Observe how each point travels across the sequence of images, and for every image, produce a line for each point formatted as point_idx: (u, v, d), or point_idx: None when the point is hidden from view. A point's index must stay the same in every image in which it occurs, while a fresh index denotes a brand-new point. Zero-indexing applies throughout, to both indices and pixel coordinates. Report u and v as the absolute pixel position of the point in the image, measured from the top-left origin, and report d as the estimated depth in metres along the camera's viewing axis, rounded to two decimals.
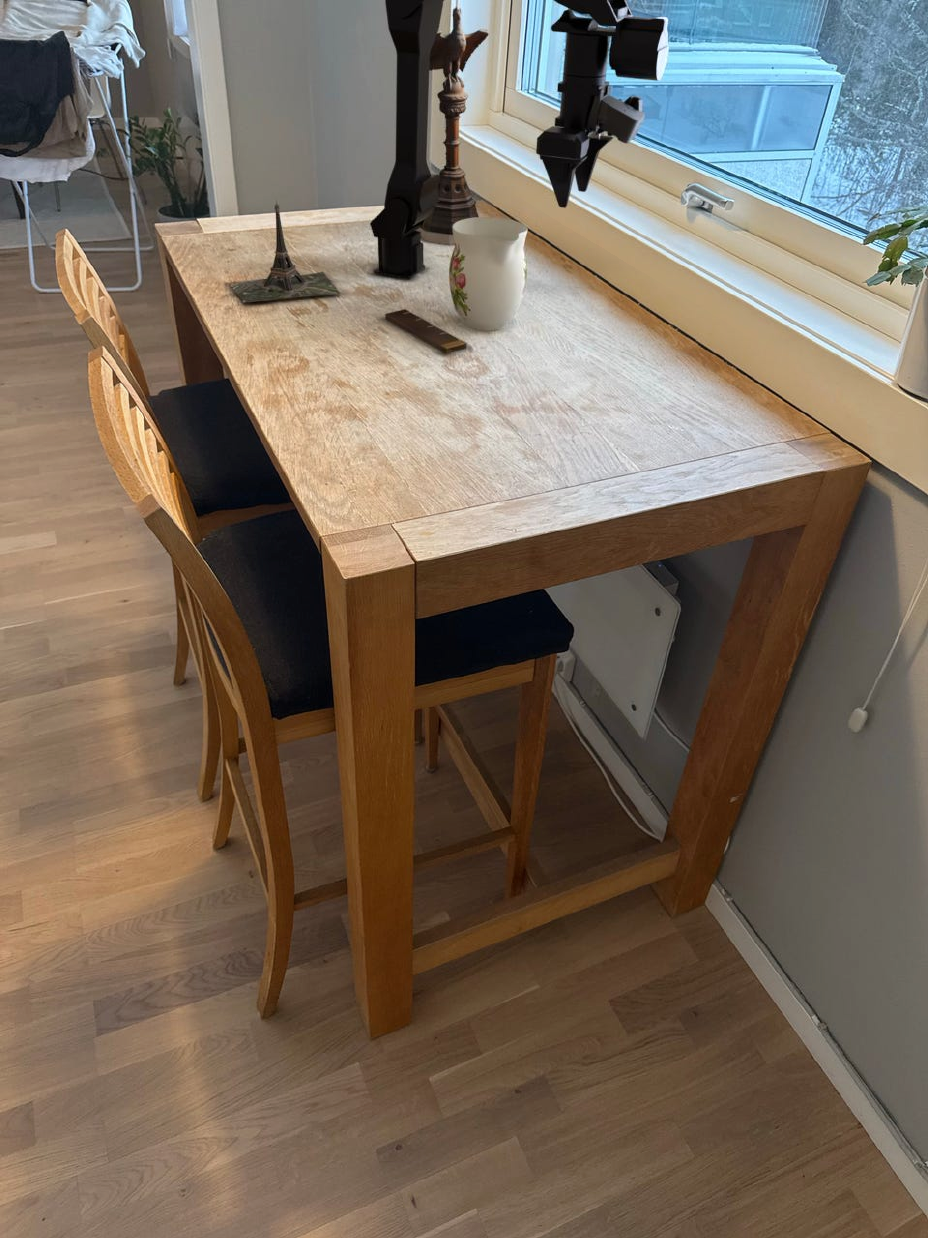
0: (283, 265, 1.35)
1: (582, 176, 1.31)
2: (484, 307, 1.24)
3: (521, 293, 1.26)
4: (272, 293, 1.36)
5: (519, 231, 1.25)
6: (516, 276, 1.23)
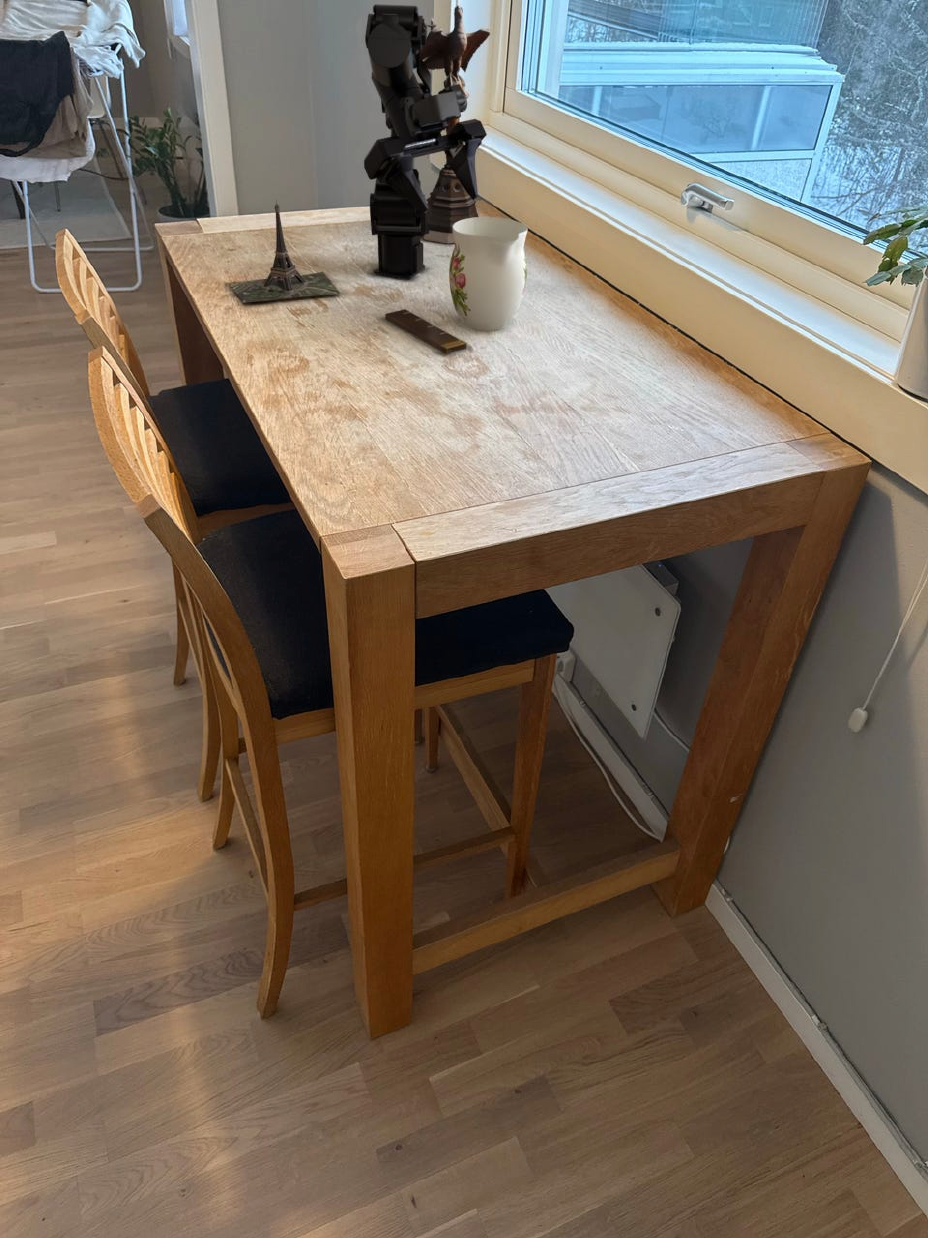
0: (283, 265, 1.35)
1: (468, 185, 1.31)
2: (484, 307, 1.24)
3: (521, 293, 1.26)
4: (272, 293, 1.36)
5: (519, 231, 1.25)
6: (516, 276, 1.23)
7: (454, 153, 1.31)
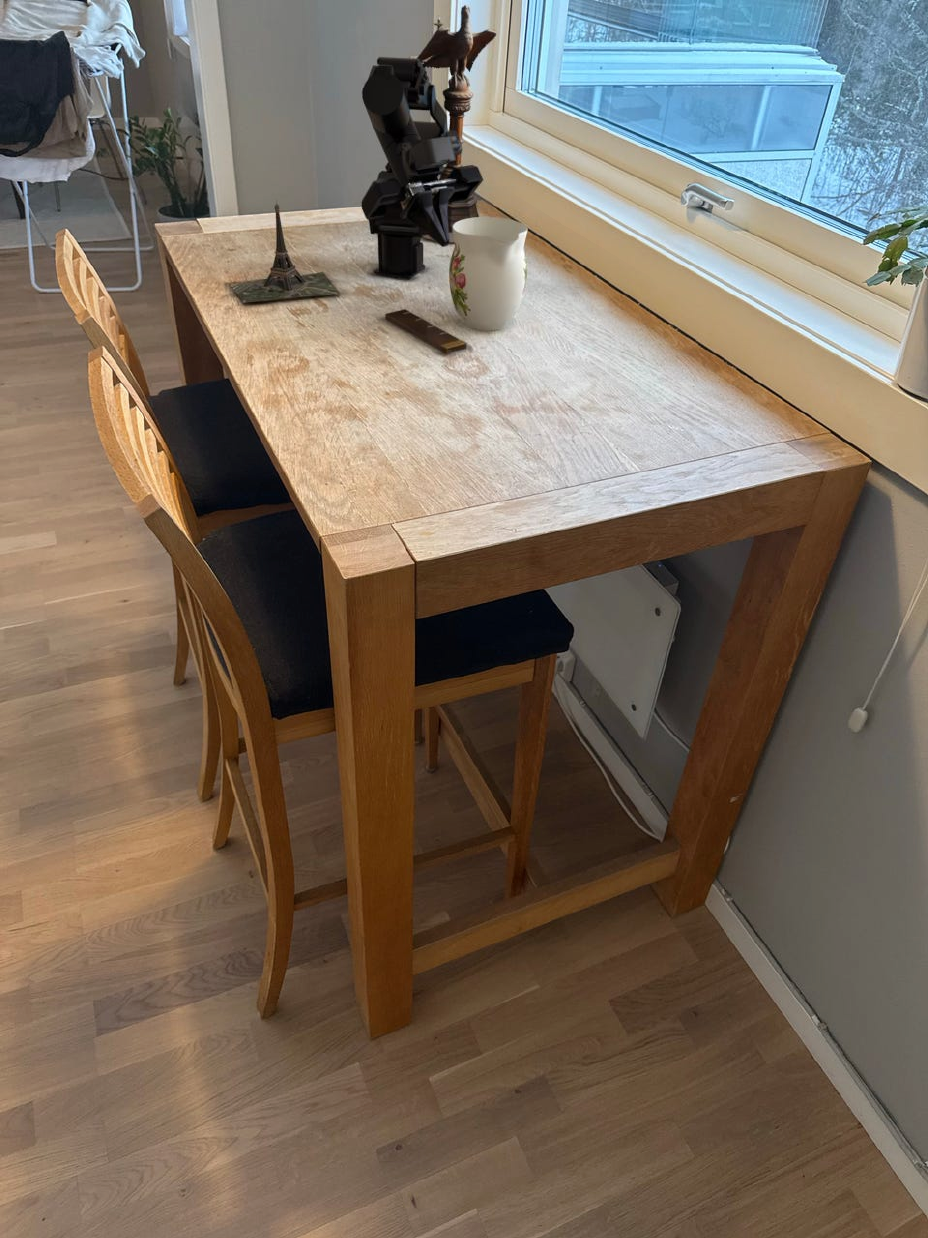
0: (283, 265, 1.35)
1: None
2: (484, 307, 1.24)
3: (521, 293, 1.26)
4: (272, 293, 1.36)
5: (519, 231, 1.25)
6: (516, 276, 1.23)
7: None
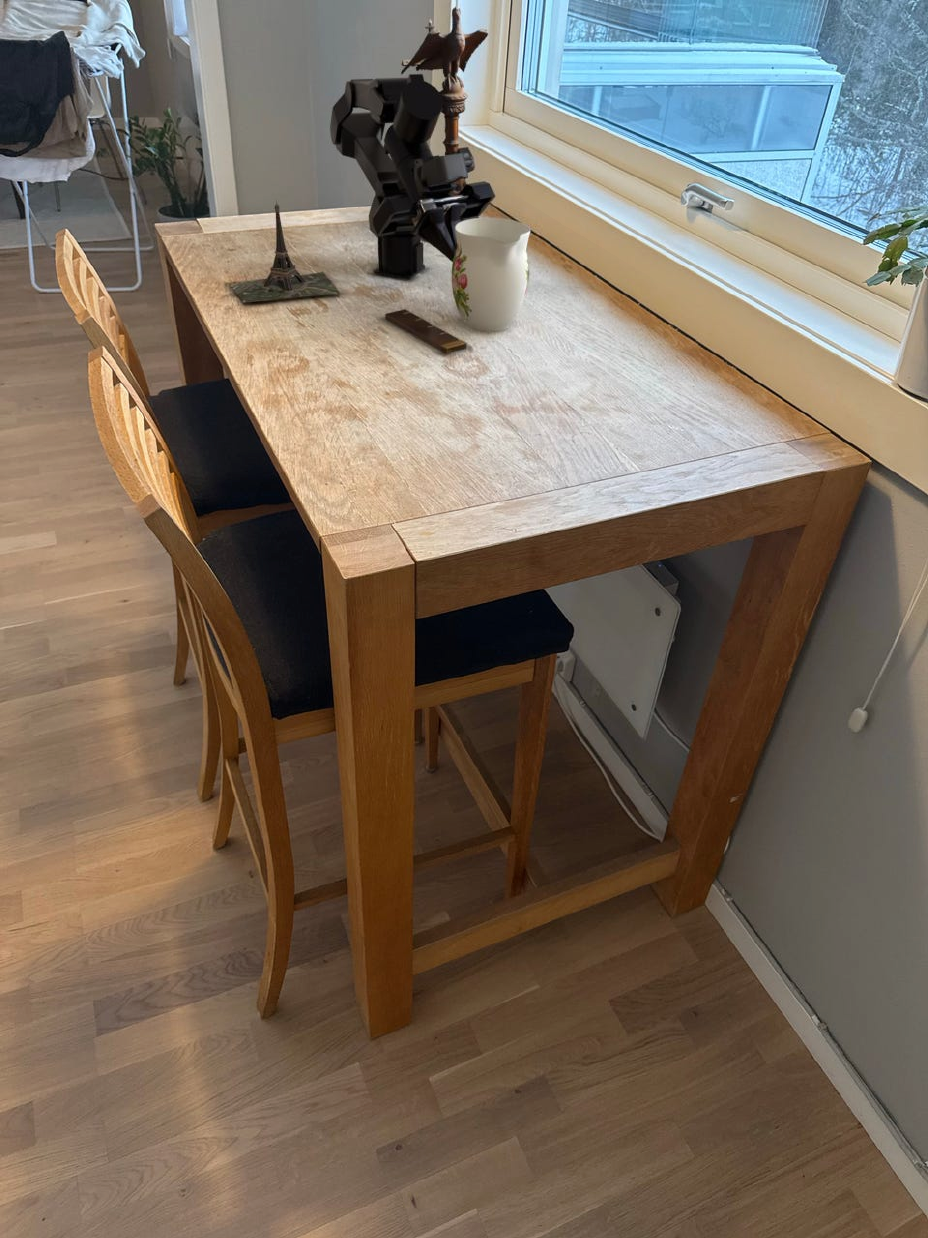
0: (283, 265, 1.35)
1: None
2: (486, 308, 1.24)
3: (523, 294, 1.25)
4: (272, 293, 1.36)
5: (523, 232, 1.24)
6: (518, 277, 1.22)
7: None
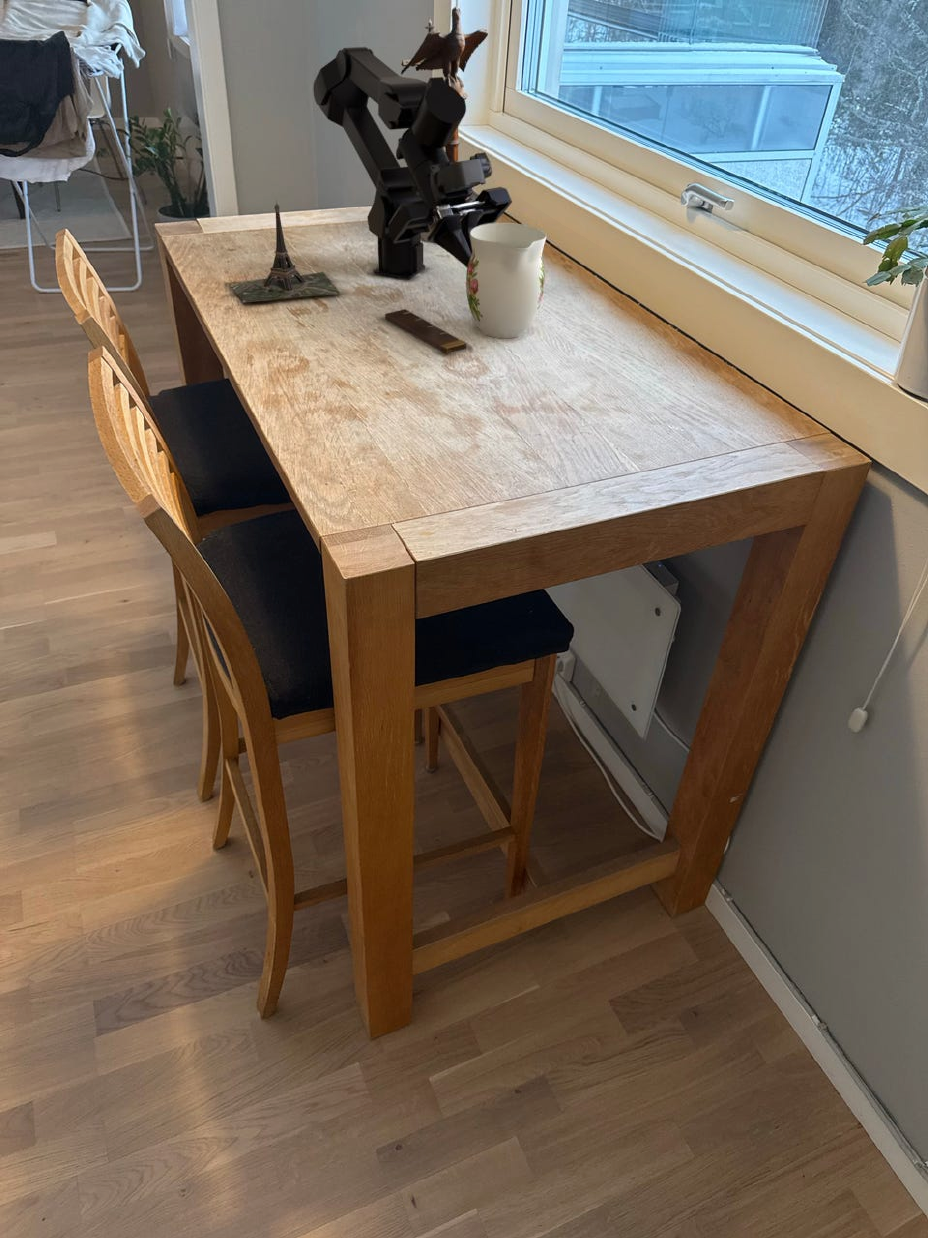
0: (283, 265, 1.35)
1: None
2: (496, 314, 1.23)
3: (536, 302, 1.23)
4: (272, 293, 1.36)
5: (540, 239, 1.22)
6: (530, 284, 1.20)
7: None
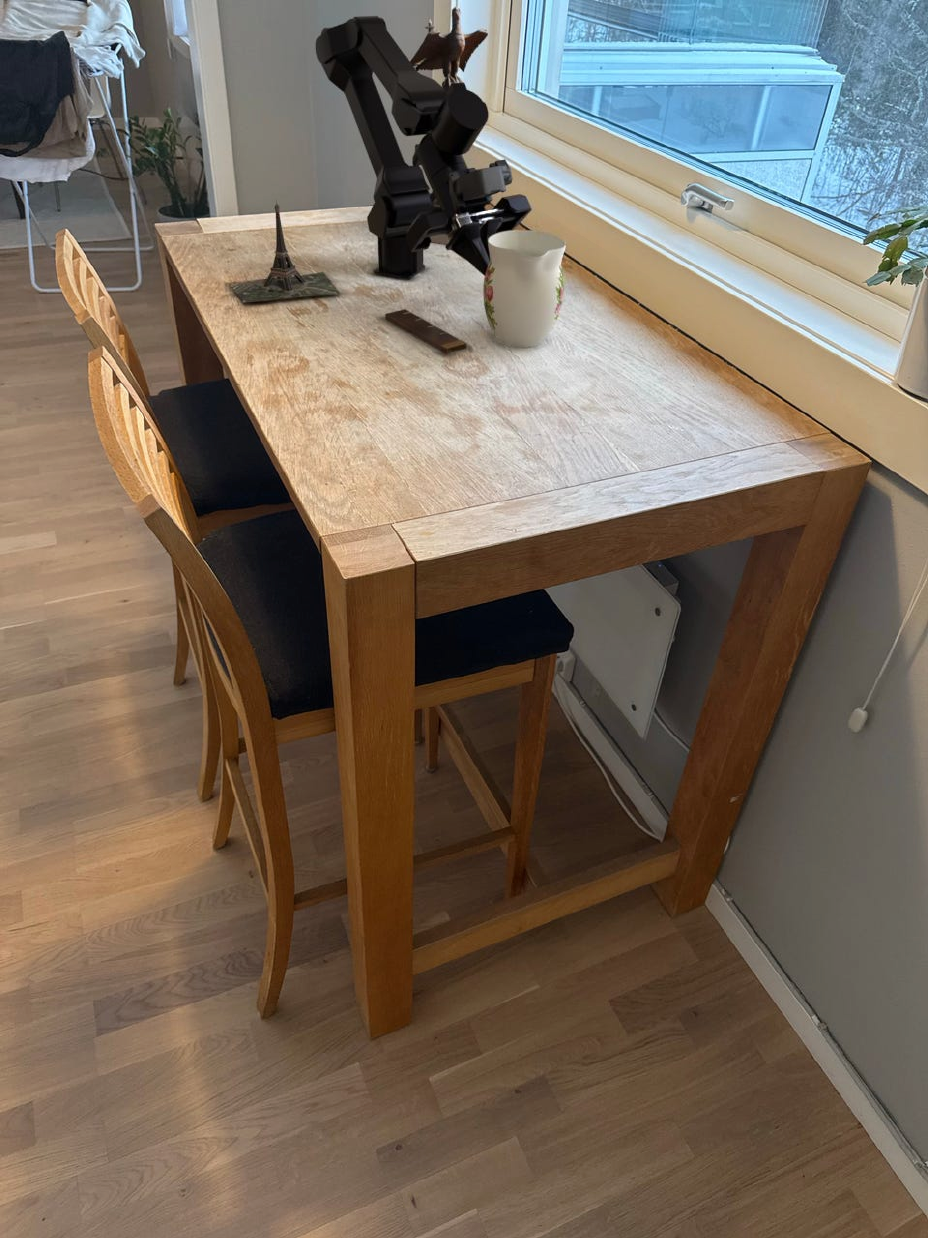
0: (283, 265, 1.35)
1: None
2: (510, 323, 1.20)
3: (552, 312, 1.20)
4: (272, 293, 1.36)
5: (561, 248, 1.20)
6: (545, 294, 1.18)
7: None
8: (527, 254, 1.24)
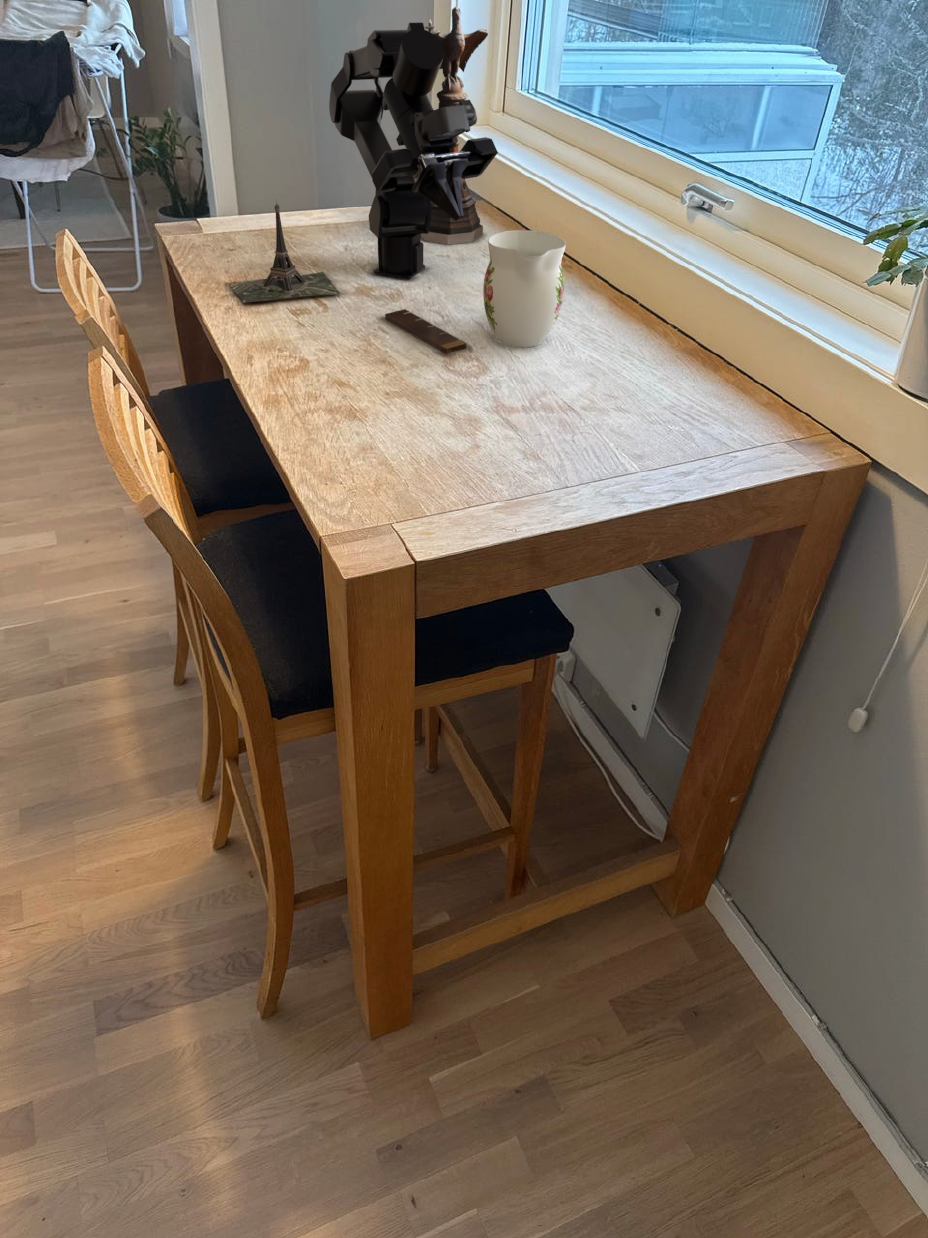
0: (283, 265, 1.35)
1: None
2: (510, 323, 1.20)
3: (552, 312, 1.20)
4: (272, 293, 1.36)
5: None
6: (545, 294, 1.18)
7: None
8: (527, 254, 1.24)
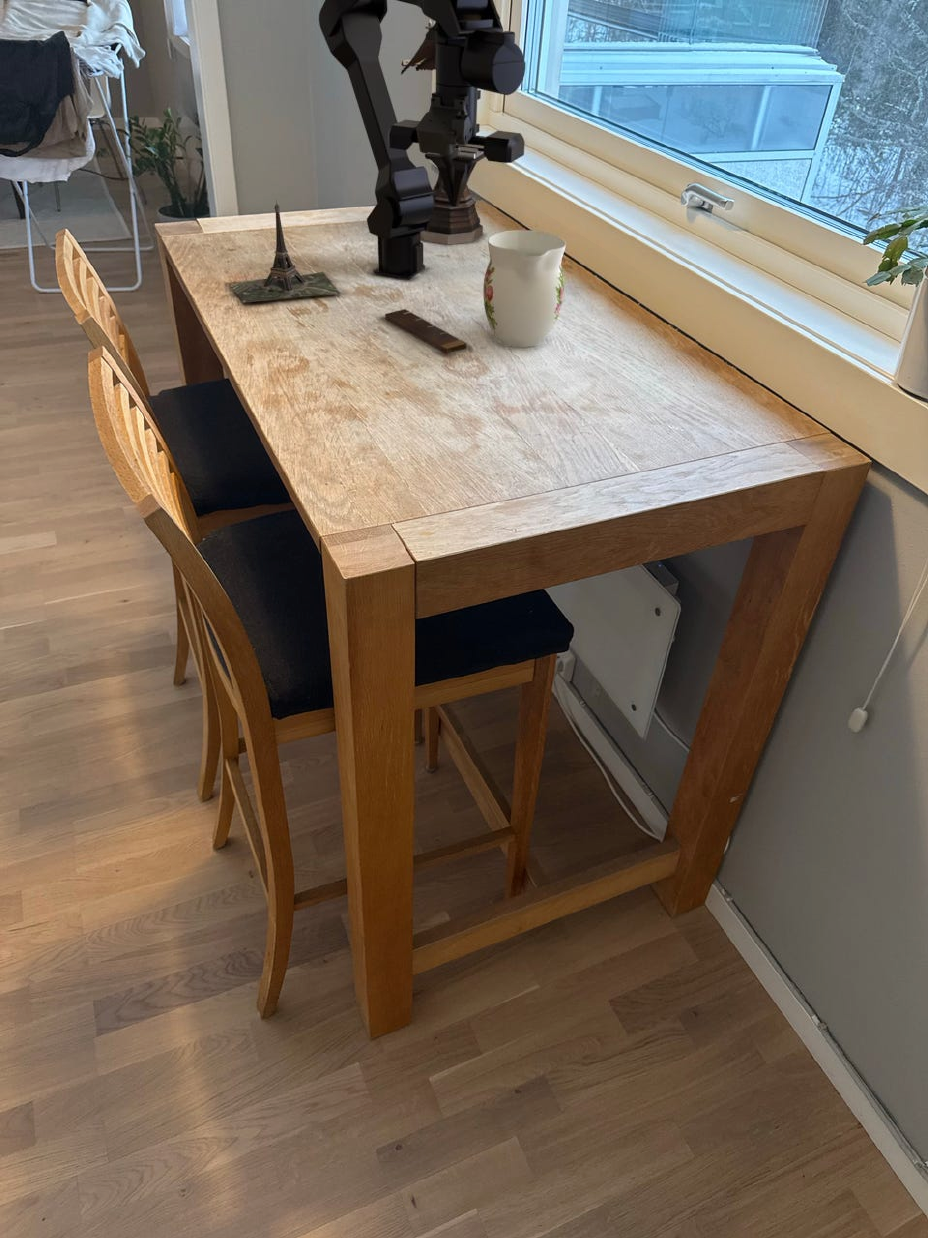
0: (283, 265, 1.35)
1: None
2: (510, 323, 1.20)
3: (552, 312, 1.20)
4: (272, 293, 1.36)
5: None
6: (545, 294, 1.18)
7: None
8: (527, 254, 1.24)
